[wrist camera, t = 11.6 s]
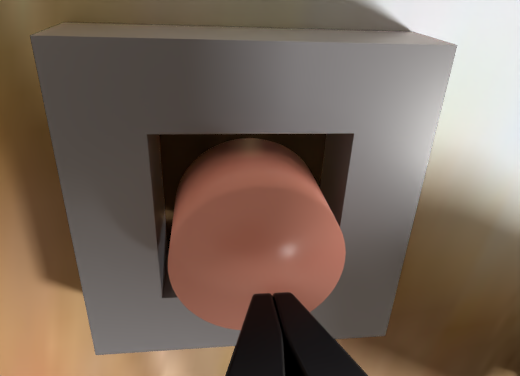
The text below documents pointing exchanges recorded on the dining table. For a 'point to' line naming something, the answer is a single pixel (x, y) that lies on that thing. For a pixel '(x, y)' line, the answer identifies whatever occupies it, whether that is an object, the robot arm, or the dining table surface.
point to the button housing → (234, 122)
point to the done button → (251, 232)
